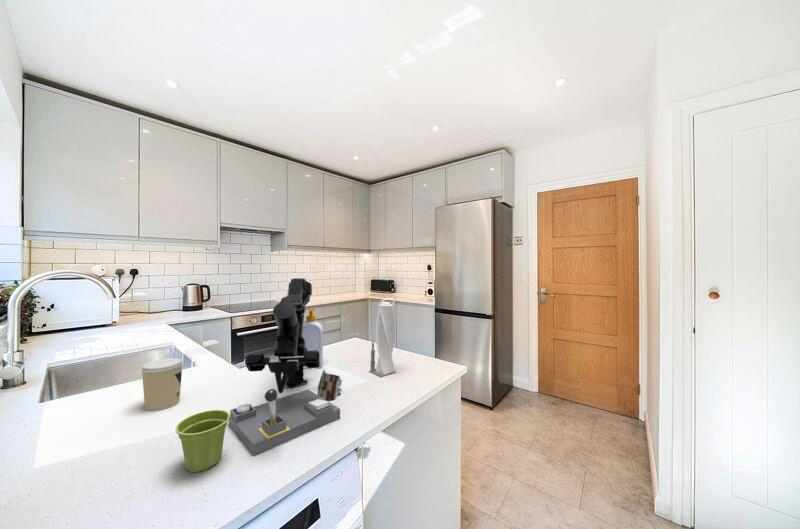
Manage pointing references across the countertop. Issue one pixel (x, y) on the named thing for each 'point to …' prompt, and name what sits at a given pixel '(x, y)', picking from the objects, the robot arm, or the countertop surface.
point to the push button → (243, 409)
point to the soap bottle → (313, 336)
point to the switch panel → (280, 421)
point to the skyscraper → (384, 340)
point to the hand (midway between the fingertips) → (280, 392)
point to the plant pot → (203, 438)
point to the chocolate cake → (329, 386)
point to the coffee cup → (162, 383)
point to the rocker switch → (318, 404)
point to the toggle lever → (272, 405)
